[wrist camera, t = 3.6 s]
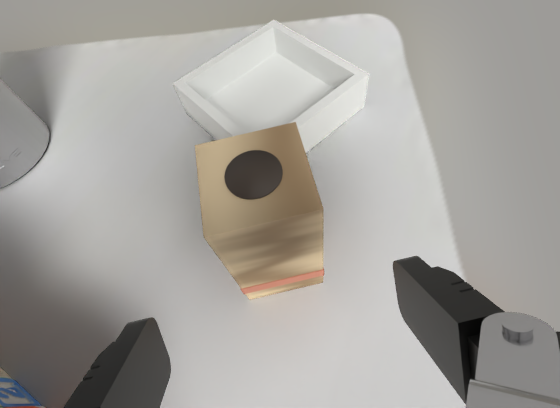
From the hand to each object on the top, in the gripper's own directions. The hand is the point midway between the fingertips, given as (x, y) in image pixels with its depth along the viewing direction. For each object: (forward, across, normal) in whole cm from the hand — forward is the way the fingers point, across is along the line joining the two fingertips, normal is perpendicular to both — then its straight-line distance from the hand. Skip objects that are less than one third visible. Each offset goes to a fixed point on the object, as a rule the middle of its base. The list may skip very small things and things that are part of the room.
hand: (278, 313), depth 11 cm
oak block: (+12, 0, +3) cm, 13 cm away
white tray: (+22, -2, -7) cm, 23 cm away
